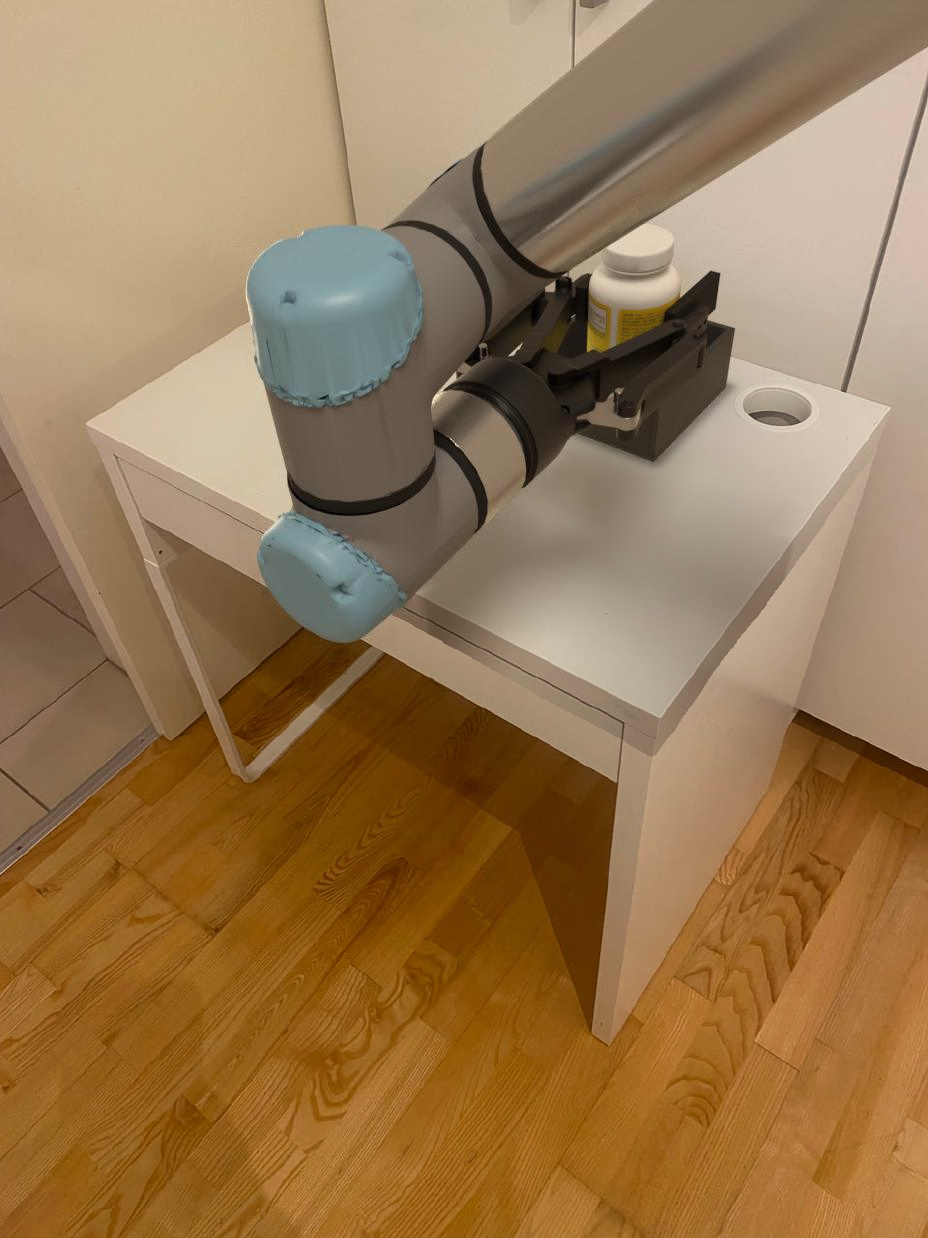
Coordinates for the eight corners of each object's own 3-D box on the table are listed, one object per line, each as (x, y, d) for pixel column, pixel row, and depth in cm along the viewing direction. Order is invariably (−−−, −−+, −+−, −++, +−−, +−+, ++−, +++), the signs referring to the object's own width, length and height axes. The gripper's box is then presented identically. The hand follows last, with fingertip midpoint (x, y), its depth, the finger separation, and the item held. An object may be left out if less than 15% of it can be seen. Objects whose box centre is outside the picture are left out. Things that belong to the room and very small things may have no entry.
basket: (726, 387, 94) (735, 327, 90) (653, 461, 87) (659, 401, 82) (602, 347, 101) (605, 289, 96) (525, 413, 94) (524, 354, 89)
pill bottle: (684, 373, 71) (702, 227, 63) (649, 417, 67) (663, 268, 59) (608, 354, 73) (616, 210, 65) (570, 395, 70) (574, 249, 62)
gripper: (366, 443, 64) (556, 293, 76) (617, 549, 55) (786, 361, 67) (349, 342, 58) (557, 198, 70) (624, 442, 50) (807, 258, 62)
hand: (668, 278), depth 69 cm, fingers closed on pill bottle, 6 cm apart
